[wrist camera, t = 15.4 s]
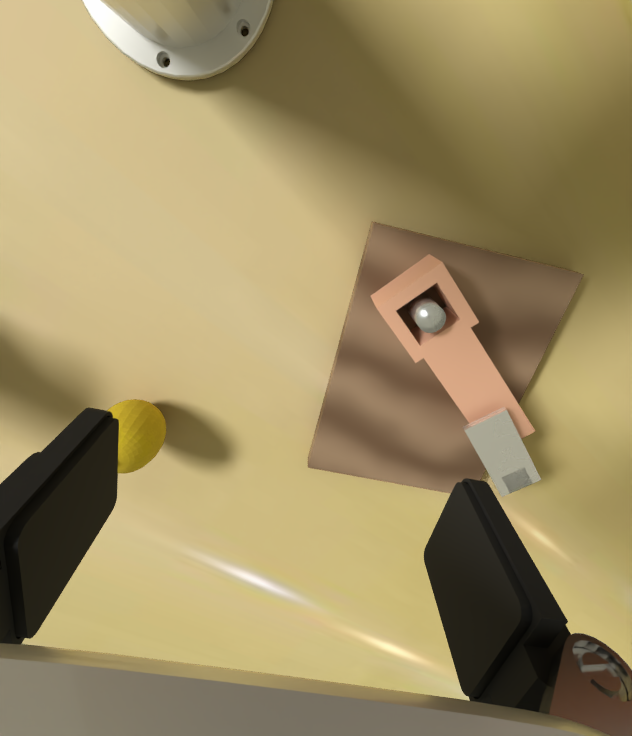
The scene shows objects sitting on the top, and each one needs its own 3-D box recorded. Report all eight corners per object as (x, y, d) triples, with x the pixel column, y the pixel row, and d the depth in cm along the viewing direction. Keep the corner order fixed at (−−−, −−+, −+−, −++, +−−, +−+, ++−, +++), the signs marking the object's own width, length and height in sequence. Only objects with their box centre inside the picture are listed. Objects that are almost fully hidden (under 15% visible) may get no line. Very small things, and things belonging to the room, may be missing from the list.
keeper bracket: (441, 392, 37) (464, 430, 32) (476, 374, 37) (506, 409, 31) (475, 452, 40) (501, 496, 34) (508, 436, 39) (541, 479, 34)
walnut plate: (371, 221, 31) (374, 223, 30) (572, 270, 33) (583, 274, 31) (308, 457, 40) (307, 467, 39) (466, 487, 42) (471, 497, 41)
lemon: (189, 412, 38) (159, 466, 31) (152, 444, 40) (115, 503, 32) (143, 373, 36) (100, 420, 29) (106, 408, 38) (56, 461, 31)
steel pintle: (408, 287, 32) (422, 302, 28) (432, 293, 32) (450, 308, 28) (401, 311, 32) (413, 329, 28) (424, 316, 33) (440, 335, 29)
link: (370, 295, 32) (376, 308, 29) (429, 253, 31) (442, 262, 27) (469, 435, 38) (484, 459, 34) (523, 405, 36) (543, 426, 33)
